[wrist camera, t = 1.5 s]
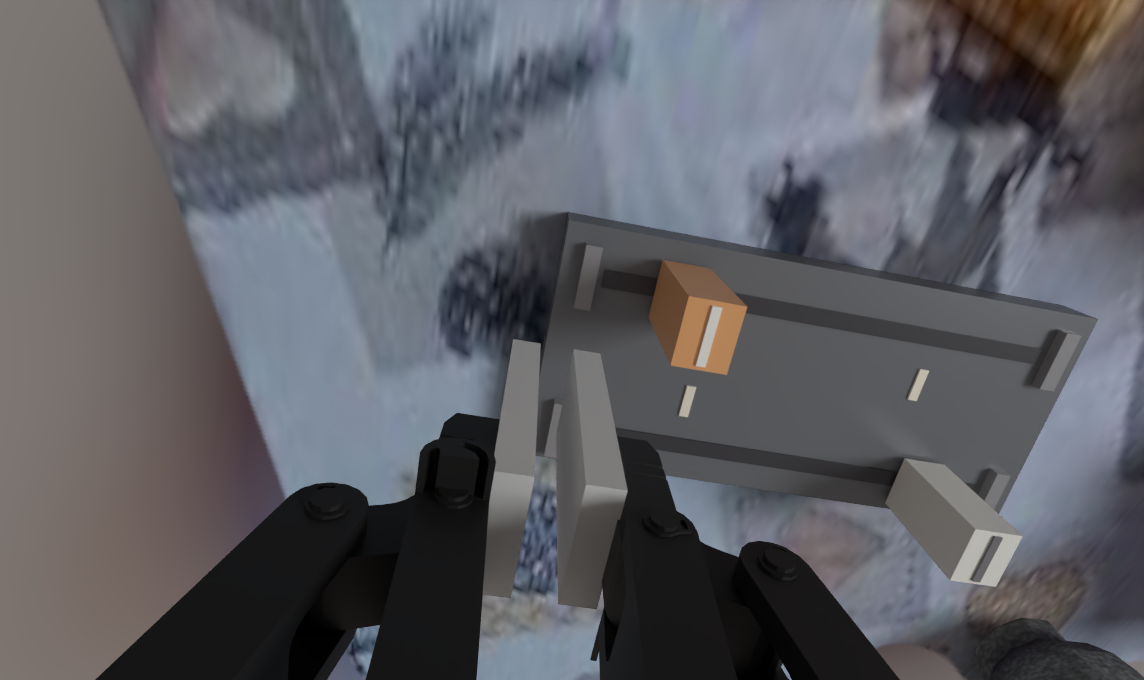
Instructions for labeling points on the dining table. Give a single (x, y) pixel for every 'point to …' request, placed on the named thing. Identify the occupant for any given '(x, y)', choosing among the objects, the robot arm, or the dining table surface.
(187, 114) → the dining table surface
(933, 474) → the block
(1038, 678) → the mortar and pestle
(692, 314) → the orange fader
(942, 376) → the console
